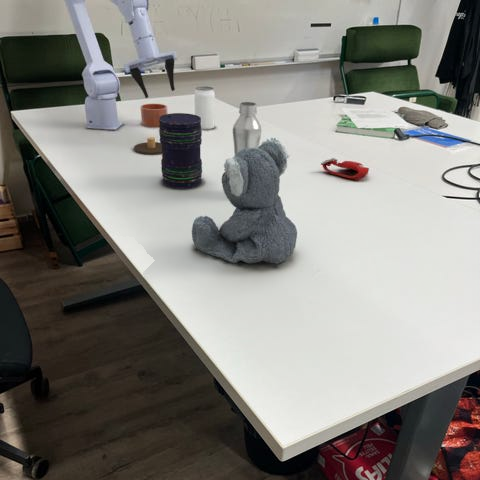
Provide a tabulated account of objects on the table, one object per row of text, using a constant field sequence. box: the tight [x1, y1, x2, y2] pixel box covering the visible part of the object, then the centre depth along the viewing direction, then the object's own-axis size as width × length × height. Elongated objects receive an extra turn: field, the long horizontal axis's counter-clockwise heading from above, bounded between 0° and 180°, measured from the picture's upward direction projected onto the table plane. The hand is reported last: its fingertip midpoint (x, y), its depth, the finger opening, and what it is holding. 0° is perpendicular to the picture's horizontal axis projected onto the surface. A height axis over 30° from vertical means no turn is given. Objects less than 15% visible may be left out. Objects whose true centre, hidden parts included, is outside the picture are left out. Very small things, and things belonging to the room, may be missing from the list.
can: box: [194, 85, 216, 131], centre depth 156 cm, size 6×6×12 cm
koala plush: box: [191, 137, 298, 265], centre depth 85 cm, size 17×18×20 cm
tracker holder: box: [320, 157, 370, 181], centre depth 125 cm, size 12×4×10 cm
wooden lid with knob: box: [133, 136, 162, 156], centre depth 138 cm, size 10×10×3 cm
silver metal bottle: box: [232, 101, 263, 157], centre depth 107 cm, size 6×7×20 cm
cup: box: [139, 103, 169, 128], centre depth 159 cm, size 9×9×6 cm
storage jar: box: [158, 112, 203, 190], centre depth 114 cm, size 10×10×15 cm
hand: (160, 93), depth 134 cm, fingers open, 7 cm apart
